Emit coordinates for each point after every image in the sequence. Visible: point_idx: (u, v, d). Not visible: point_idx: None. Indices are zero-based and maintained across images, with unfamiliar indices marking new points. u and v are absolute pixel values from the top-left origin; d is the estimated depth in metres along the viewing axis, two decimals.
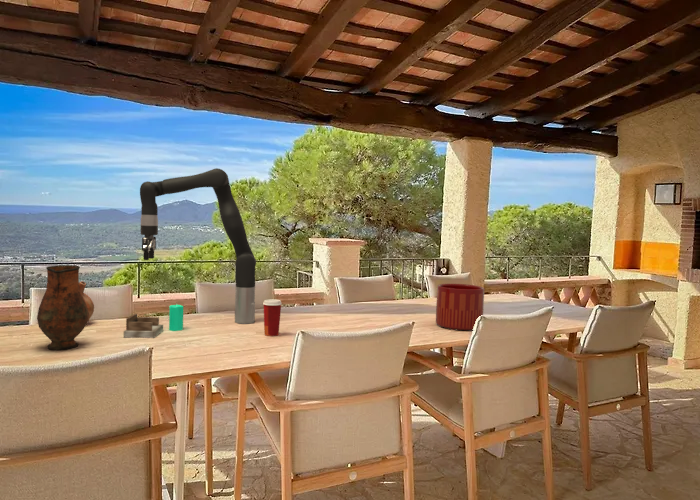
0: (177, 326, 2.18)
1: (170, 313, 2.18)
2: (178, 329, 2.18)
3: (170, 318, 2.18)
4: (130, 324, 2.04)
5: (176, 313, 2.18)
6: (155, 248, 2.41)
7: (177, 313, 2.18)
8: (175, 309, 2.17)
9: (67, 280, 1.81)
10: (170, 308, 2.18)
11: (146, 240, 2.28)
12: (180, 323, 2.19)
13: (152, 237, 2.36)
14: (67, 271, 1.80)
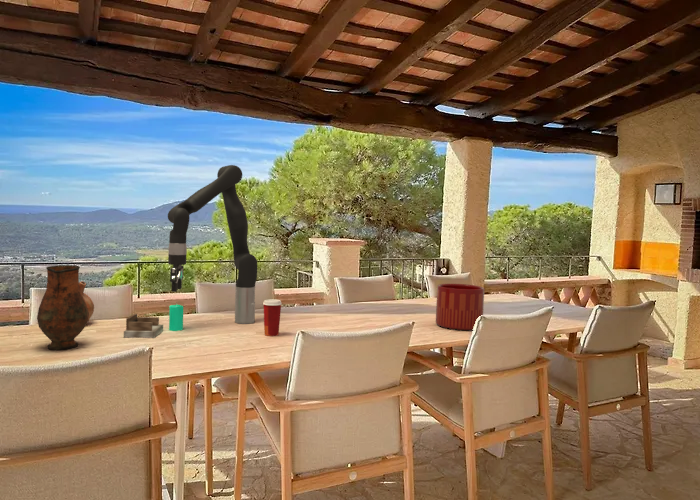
0: (177, 326, 2.18)
1: (170, 313, 2.18)
2: (178, 329, 2.18)
3: (170, 318, 2.18)
4: (130, 324, 2.04)
5: (176, 313, 2.18)
6: None
7: (177, 313, 2.18)
8: (175, 309, 2.17)
9: (67, 280, 1.81)
10: (170, 308, 2.18)
11: (175, 271, 2.13)
12: (180, 323, 2.19)
13: (180, 266, 2.21)
14: (67, 271, 1.80)
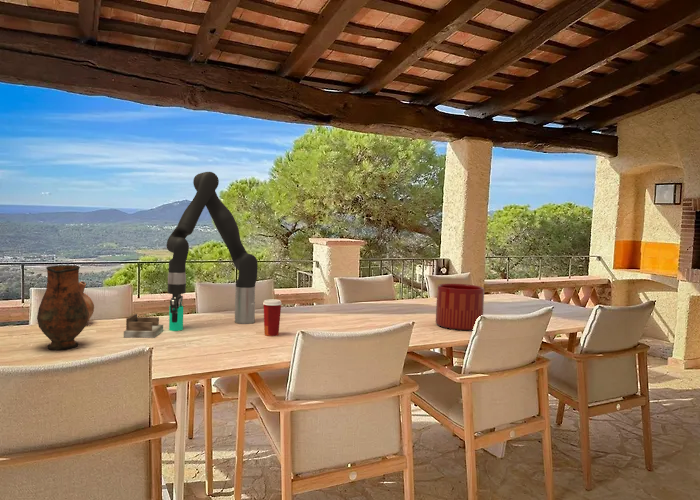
0: (177, 326, 2.18)
1: (170, 313, 2.18)
2: (178, 329, 2.18)
3: (170, 318, 2.18)
4: (130, 324, 2.04)
5: None
6: None
7: None
8: None
9: (67, 280, 1.81)
10: None
11: (174, 303, 2.14)
12: (180, 323, 2.19)
13: (179, 295, 2.21)
14: (67, 271, 1.80)
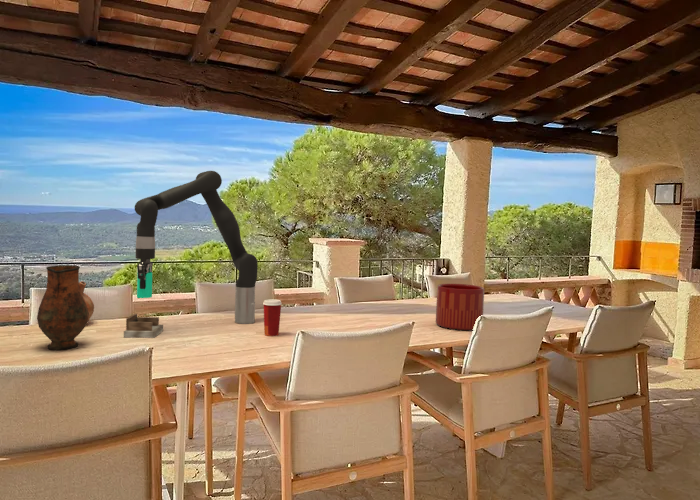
0: (145, 293, 2.07)
1: (138, 279, 2.07)
2: (146, 296, 2.07)
3: (138, 284, 2.07)
4: (130, 324, 2.04)
5: None
6: None
7: None
8: None
9: (67, 280, 1.81)
10: None
11: (142, 268, 2.03)
12: (148, 290, 2.08)
13: (148, 261, 2.11)
14: (67, 271, 1.80)
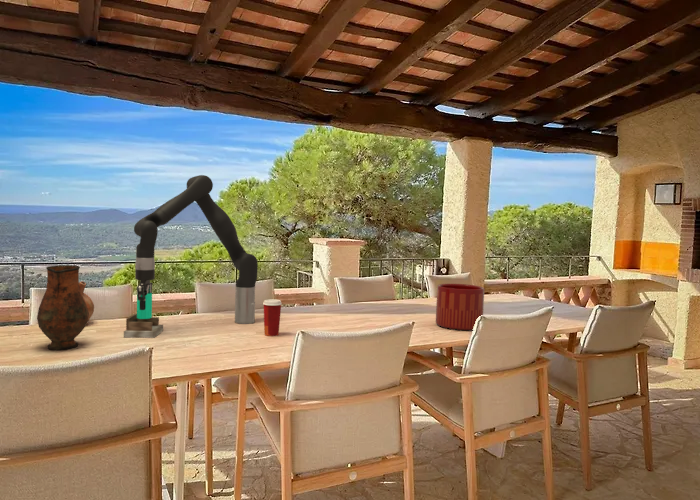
0: (144, 314, 2.08)
1: (138, 300, 2.08)
2: (146, 317, 2.08)
3: (138, 305, 2.08)
4: (130, 324, 2.04)
5: None
6: None
7: None
8: None
9: (67, 280, 1.81)
10: None
11: (141, 289, 2.03)
12: (148, 311, 2.08)
13: (148, 282, 2.11)
14: (67, 271, 1.80)
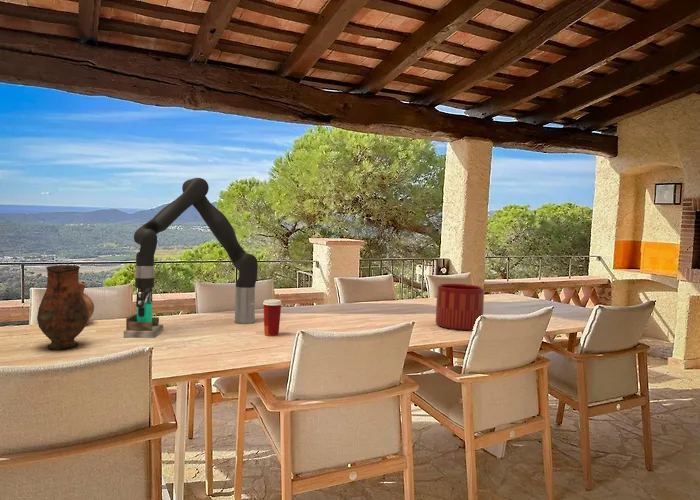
0: None
1: None
2: None
3: (138, 316, 2.08)
4: (130, 324, 2.04)
5: (144, 310, 2.07)
6: (151, 301, 2.16)
7: (145, 311, 2.07)
8: None
9: (67, 280, 1.81)
10: None
11: (141, 295, 2.03)
12: (148, 321, 2.09)
13: (148, 290, 2.11)
14: (67, 271, 1.80)
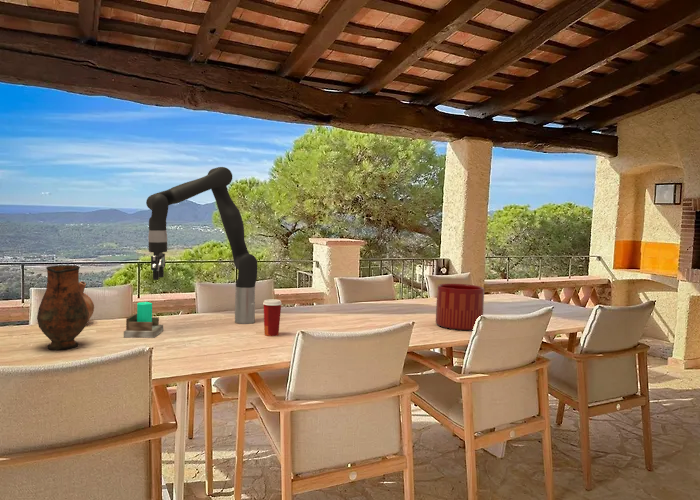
0: None
1: (138, 311, 2.08)
2: None
3: (138, 316, 2.08)
4: (130, 324, 2.04)
5: (144, 310, 2.07)
6: (164, 266, 2.22)
7: (145, 311, 2.08)
8: (143, 306, 2.07)
9: (67, 280, 1.81)
10: (138, 305, 2.08)
11: (155, 258, 2.08)
12: (148, 321, 2.09)
13: (161, 254, 2.16)
14: (67, 271, 1.80)
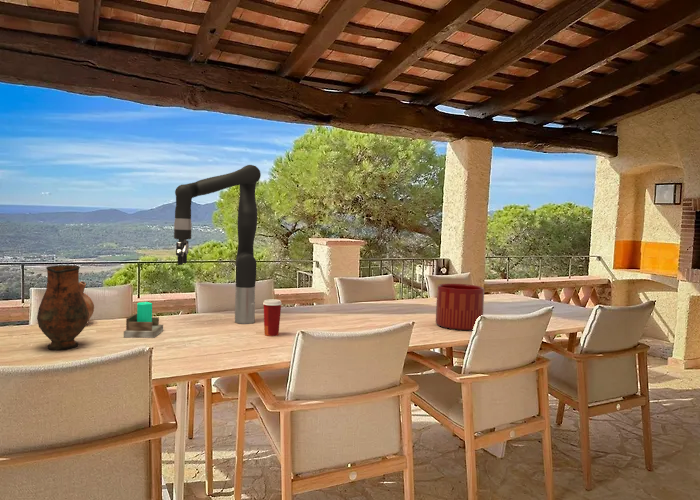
0: None
1: (138, 311, 2.08)
2: None
3: (138, 316, 2.08)
4: (130, 324, 2.04)
5: (144, 310, 2.07)
6: (188, 252, 2.35)
7: (145, 311, 2.08)
8: (143, 306, 2.07)
9: (67, 280, 1.81)
10: (138, 305, 2.08)
11: (180, 244, 2.22)
12: (148, 321, 2.09)
13: (185, 241, 2.30)
14: (67, 271, 1.80)
